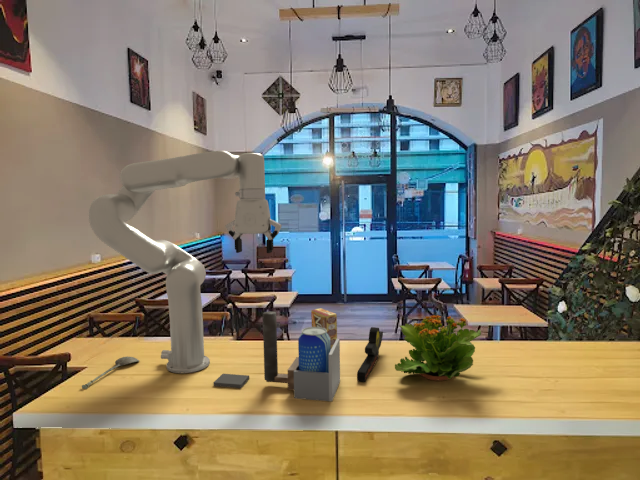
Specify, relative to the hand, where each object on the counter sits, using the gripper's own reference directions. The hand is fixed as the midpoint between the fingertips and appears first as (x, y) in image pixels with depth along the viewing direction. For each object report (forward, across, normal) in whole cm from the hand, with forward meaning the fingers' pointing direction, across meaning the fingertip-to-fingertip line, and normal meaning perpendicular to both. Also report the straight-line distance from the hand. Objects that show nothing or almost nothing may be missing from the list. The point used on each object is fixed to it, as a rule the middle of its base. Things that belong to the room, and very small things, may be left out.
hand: (254, 252), depth 130 cm
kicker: (+33, +13, -15) cm, 38 cm away
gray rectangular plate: (+34, -2, -15) cm, 37 cm away
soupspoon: (+35, -40, -15) cm, 55 cm away
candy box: (+34, +20, +6) cm, 40 cm away
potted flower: (+35, +54, +1) cm, 64 cm away
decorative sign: (+35, +35, +5) cm, 49 cm away
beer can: (+34, +22, -15) cm, 43 cm away
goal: (+34, +22, -15) cm, 43 cm away
